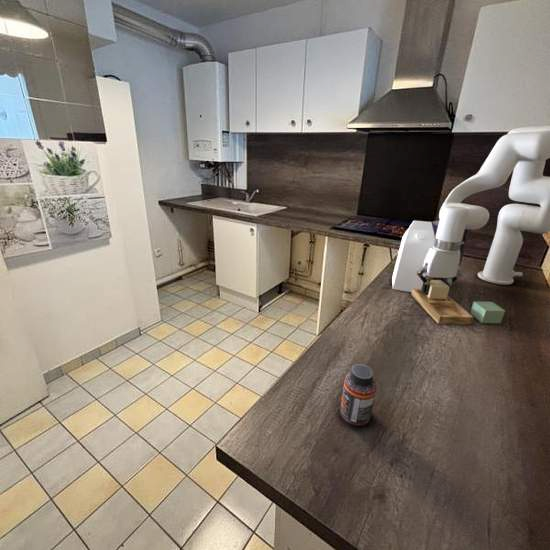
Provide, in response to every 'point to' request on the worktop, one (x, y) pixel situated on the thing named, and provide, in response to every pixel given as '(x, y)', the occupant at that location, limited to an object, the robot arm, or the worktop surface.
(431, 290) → the tan block
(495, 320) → the green block
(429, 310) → the divided wooden tray
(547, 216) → the robot arm
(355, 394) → the supplement bottle
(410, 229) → the milk
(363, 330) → the worktop surface
